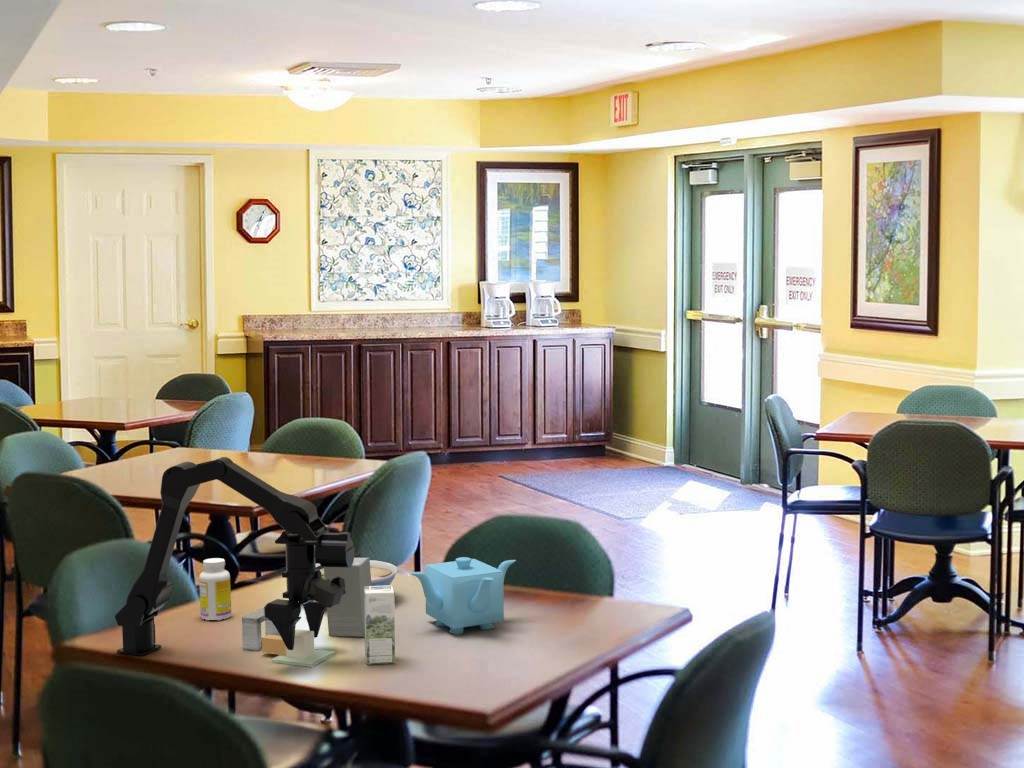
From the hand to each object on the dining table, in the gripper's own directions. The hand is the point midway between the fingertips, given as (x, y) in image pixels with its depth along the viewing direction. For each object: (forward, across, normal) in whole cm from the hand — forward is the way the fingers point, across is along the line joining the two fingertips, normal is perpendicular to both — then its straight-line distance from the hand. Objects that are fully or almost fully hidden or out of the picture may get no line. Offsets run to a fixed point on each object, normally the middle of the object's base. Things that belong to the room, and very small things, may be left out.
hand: (302, 643), depth 272 cm
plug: (+2, 0, +4) cm, 4 cm away
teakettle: (+3, +32, -21) cm, 38 cm away
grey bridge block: (+3, +6, +13) cm, 15 cm away
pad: (+3, 0, 0) cm, 3 cm away
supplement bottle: (+3, +20, +34) cm, 40 cm away
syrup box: (+3, +4, -15) cm, 16 cm away
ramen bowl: (+3, +42, +13) cm, 44 cm away
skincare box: (+3, +19, 0) cm, 19 cm away
